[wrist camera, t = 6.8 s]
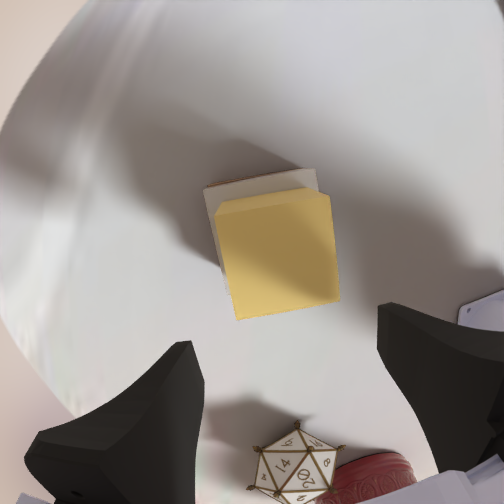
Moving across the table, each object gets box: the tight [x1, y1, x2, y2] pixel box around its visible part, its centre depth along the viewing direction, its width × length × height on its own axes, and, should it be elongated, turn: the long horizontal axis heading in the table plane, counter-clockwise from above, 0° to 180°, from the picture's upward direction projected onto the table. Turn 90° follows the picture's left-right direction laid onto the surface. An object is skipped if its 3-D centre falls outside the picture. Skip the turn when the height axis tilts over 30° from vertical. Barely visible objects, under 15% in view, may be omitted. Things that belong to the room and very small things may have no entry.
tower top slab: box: [203, 168, 319, 295], centre depth 18 cm, size 6×6×2 cm
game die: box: [246, 420, 346, 504], centre depth 22 cm, size 9×8×10 cm
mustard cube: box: [214, 187, 340, 320], centre depth 14 cm, size 4×4×4 cm
